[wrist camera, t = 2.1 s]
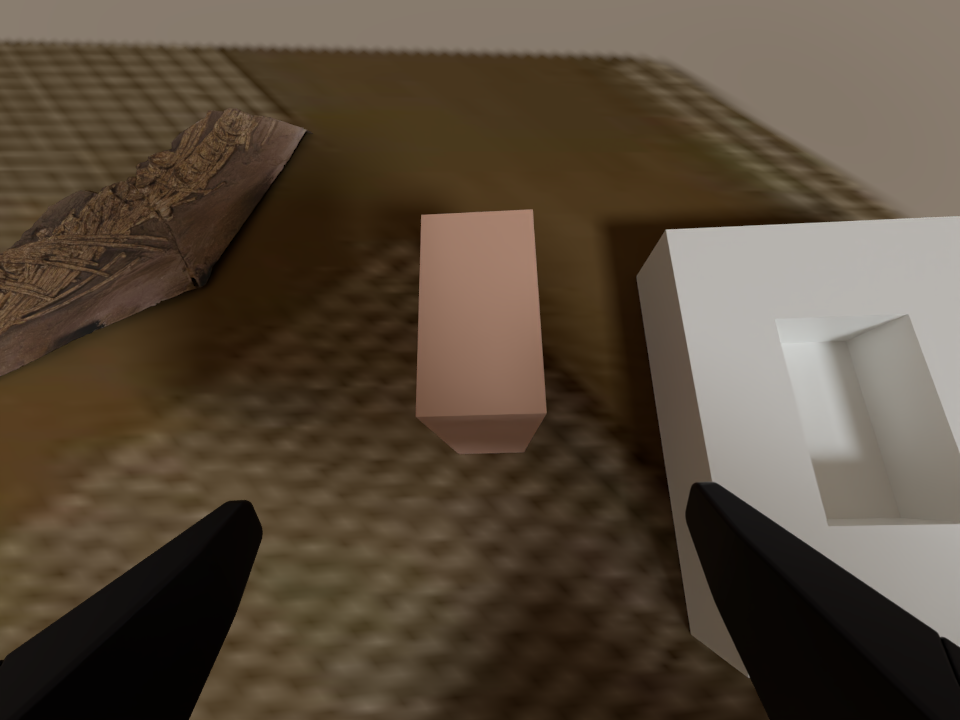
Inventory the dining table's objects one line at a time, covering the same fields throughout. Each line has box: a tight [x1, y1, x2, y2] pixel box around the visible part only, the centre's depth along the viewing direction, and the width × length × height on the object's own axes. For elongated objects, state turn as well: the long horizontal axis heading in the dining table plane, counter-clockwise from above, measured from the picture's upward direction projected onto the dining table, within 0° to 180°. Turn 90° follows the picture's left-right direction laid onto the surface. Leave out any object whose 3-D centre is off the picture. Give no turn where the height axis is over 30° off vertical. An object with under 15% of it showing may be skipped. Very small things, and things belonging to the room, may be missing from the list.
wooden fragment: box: [0, 108, 313, 376], centre depth 23 cm, size 26×11×1 cm, turn 130°
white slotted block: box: [636, 216, 960, 678], centre depth 17 cm, size 16×12×4 cm
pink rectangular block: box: [416, 210, 547, 454], centre depth 15 cm, size 6×3×10 cm, turn 1°
